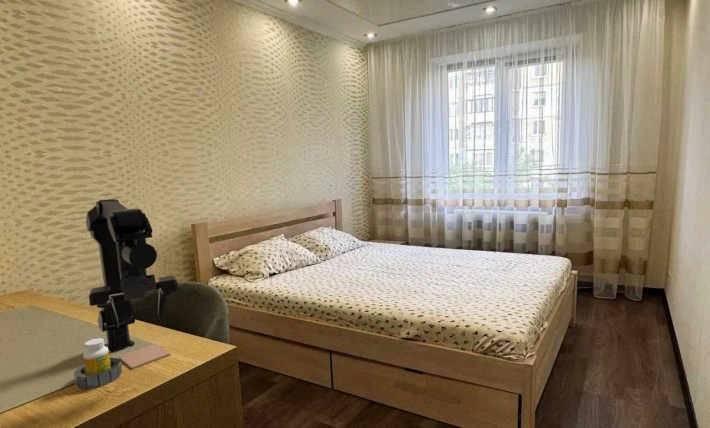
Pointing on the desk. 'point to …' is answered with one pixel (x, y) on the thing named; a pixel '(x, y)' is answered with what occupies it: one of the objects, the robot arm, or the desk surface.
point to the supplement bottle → (96, 356)
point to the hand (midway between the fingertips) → (139, 323)
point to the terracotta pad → (144, 356)
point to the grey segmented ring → (98, 375)
